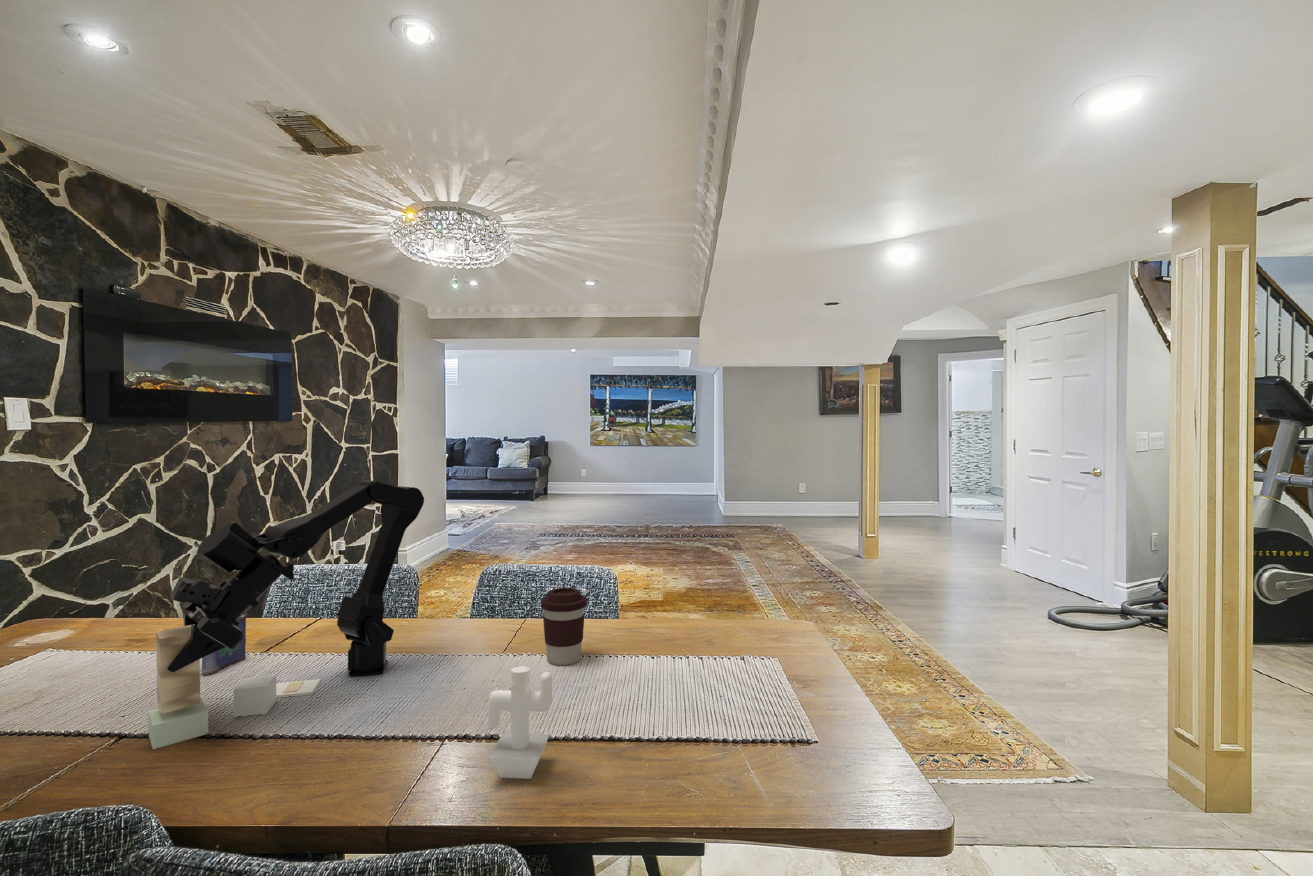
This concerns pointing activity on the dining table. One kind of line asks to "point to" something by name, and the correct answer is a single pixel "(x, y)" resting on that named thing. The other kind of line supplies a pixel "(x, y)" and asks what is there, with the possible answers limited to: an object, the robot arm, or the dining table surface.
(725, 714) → the dining table surface
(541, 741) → the figurine
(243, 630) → the flask
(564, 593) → the coffee cup
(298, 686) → the card
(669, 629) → the dining table surface
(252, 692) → the grey cube
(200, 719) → the sage base block
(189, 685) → the maple pillar
